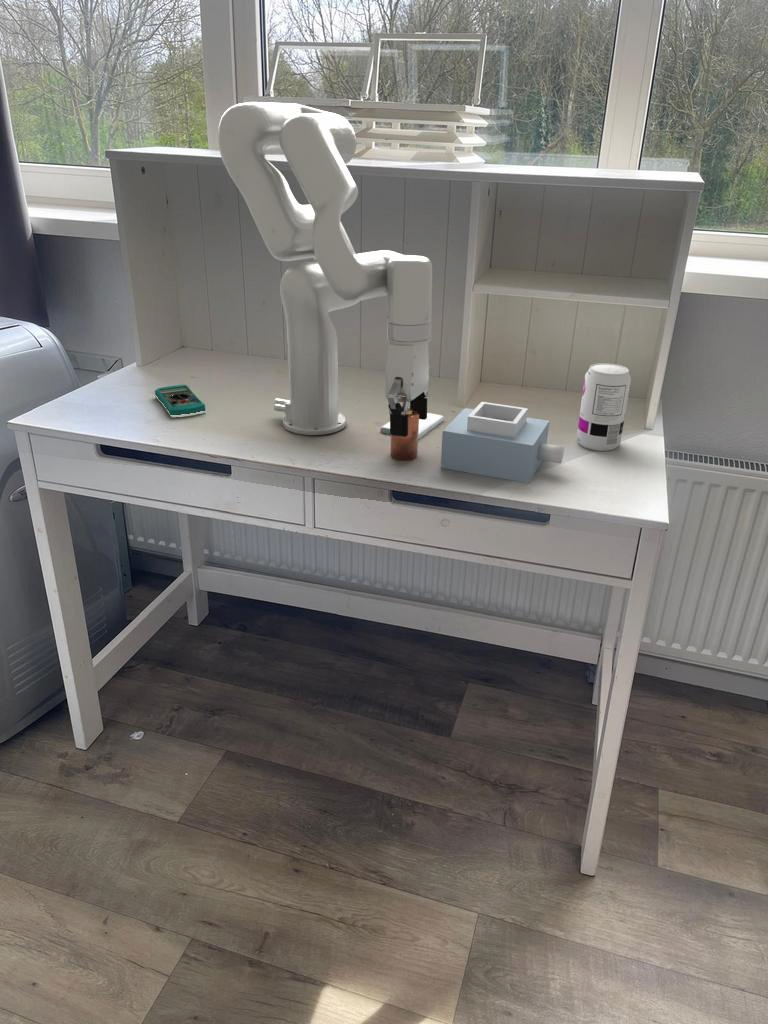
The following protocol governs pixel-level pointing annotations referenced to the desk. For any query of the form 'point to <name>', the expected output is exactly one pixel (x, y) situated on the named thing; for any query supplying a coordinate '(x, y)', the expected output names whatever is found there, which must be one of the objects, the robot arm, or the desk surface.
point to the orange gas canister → (406, 440)
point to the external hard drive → (420, 424)
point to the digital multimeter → (179, 400)
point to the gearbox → (498, 443)
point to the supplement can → (603, 406)
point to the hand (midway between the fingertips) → (409, 426)
